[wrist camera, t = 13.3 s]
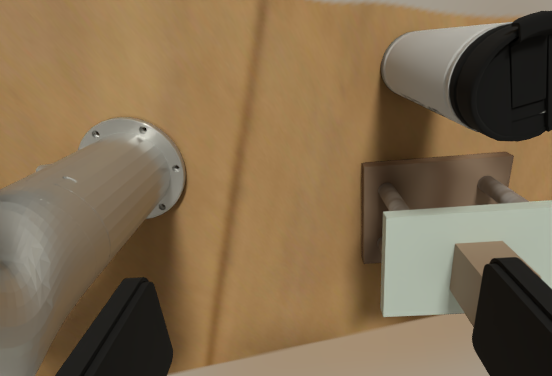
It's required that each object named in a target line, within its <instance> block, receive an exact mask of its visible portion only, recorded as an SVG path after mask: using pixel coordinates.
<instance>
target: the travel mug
mask: <svg viewBox="0 0 552 376" xmlns="http://www.w3.org/2000/svg"><path fill="white" fill-rule="evenodd" d="M381 74H382V78H383V81H384V82H385V84H386V86H387V87H388V88H389V89H390V90H391V91H393V92H394V93H396V94H398V95H400V96H402V97H405V98H407V99H409V100H411V101H413V102H415V103H417V104H419V105H421V106H423V107H425V108H427V109H429V110H432V111H434V112H436V113H438V114H440V115H442V116H444V117H446V118H448V119H450V120H452V121H454V122H457V123H459V124H461V125H463V126H465V127H467V128H469V129H471V130H474V131H476V132H480V133H482V134H484V135H486V136H488V137H490V138H493V139H495V140H497V141H522V140H527V139H531V138H533V137H536V136H539V135H541V134H542V133H543V132H545V131H548V132H549V131H551V130H552V11H540V12H537V13H533V14H529V15H527V16H524V17H521V18H518V19H517V20H515V21H514V22H507V23H496V24H486V25H475V26H465V27H454V28H444V29H434V30H423V31H413V32H409V33H405V34H403V35H401V36H399V37H398V38H396V39H395V40H394V41H393V42H392V43H391V44H390V45H389V47H388V48H387V49H386V51H385V53H384V55H383V59H382V63H381Z"/></svg>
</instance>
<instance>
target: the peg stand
mask: <svg viewBox="0 0 552 376" xmlns="http://www.w3.org/2000/svg"><path fill="white" fill-rule="evenodd" d="M513 157H514V156H513V155H511V154H509V153H507V152H497V153H484V154H471V155H458V156H445V157H432V158H419V159H406V160H393V161H380V162H367V163H362V259H363V262H364V264H369V263H382V228H383V212H385V211H400V210H415V209H429V208H444V207H459V206H474V205H489V204H504V203H519V202H529V201H527V200H526V199H524V198H523V197H521V196H520V195H518V194H517V193H515V192H514V191H512V190H511V189H509V188H508V185H509V180H510V174H511V168H512V163H513Z"/></svg>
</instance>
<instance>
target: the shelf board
mask: <svg viewBox="0 0 552 376" xmlns="http://www.w3.org/2000/svg"><path fill="white" fill-rule="evenodd" d="M505 257H517V258H519V259H521V260H522V261H523V262H524V263H525V264H526V265H527V266H528V267H529V268H530V269H531V270H532V271H533V272H534V273H535V274H537V275H538V276H539V277H540V278H541V279H542V280H543V281H544V282H545V283H546V284H547V285H548V286H549V287H550V288H551V289H552V200H549V201H534V202H519V203H504V204H489V205H474V206H459V207H444V208H429V209H415V210H400V211H385V212H383V228H382V266H381V303H380V309H381V312H382V315H383V317H394V316H417V315H440V314H461V313H465V314H466V316H467V317H468V319H469V321H470V322H471V324H472V325H473V327H474V323H475V317H476V311H477V305H478V299H479V293H480V287H481V281H482V275H483V269H484V266H485V265H486V264H489V263H490V261H491V260H492V259H493V258H505Z"/></svg>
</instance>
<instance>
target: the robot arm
mask: <svg viewBox="0 0 552 376" xmlns="http://www.w3.org/2000/svg"><path fill="white" fill-rule="evenodd" d="M144 127H145V128H146V129H147V130H145V129H144ZM98 132H99V133H98ZM176 165H177V166H179V168H178V167H177V166H176ZM185 181H186V171H185V164H184V161H183V158H182V155H181V153H180V151H179V150H178V148H177V146H176V144H175V143H174V142H173V141H172V140H171V139H170V137H169V136H168V135H167V134H165V133H164V132H163V131H162V130H161V129H159V128H158V127H156V126H154V125H153V124H151V123H149V122H146V121H143V120H141V119H137V118H131V117H117V118H112V119H108V120H106V121H103V122H101V123H99V124H97V125H95V126H94V127H92V128H91V129H90V130H89V131H88V132H87V133H86V134H85V136H84V137H83V139H82V140H81V143H80V145H79V148H78V151H76V152H74V153H72V154H70V155H68V156H66V157H64V158H62V159H60V160H59V161H57V162H55V163H53V164H46V165H40V166H38V167H37V169H36V172H35V173H33V174H31V175H29V176H27V177H25V178H23V179H21V180H19V181H17V182H15V183H13V184H10V185H8V186H6V187H4V188H2V189H0V376H35V375H36V373H37V371H38V369H39V367H40V365H41V363H42V361H43V359H44V357H45V355H46V353H47V351H48V349H49V347H50V345H51V343H52V341H53V340H54V338H55V336H56V334H57V332H58V331H59V329H60V327H61V325H62V324H63V322H64V321H65V319H66V318H67V316H68V315H69V313H70V312H71V310H72V309H73V308H74V306H75V305H76V303H77V302H78V301H79V299H80V298H81V297H82V295H83V294H84V293H85V292H86V290H87V289H88V288H89V287H90V285H91V284H92V283H93V282H94V280H95V279H96V278H97V277H98V276H99V274H100V273H101V272H102V271H103V270H104V268H105V267H106V266H107V265H108V264H109V262H110V261H111V260H112V259H113V258H114V256H115V255H116V254H117V253H118V251H119V250H120V249H121V248H122V247H123V245H124V244H125V243H126V242H127V241H128V239H129V238H130V237H131V236H132V235H133V233H134V232H135V231H136V230H137V229H138V227H139V226H140V225H141V224H142V223H143V221H144V220H145V219H148V218H154V217H156V216H159V215H162V214H163V213H165V212H167V211H168V210H169V209H170V208H171V207H172V206H174V205H175V203H176V202H177V201H178V199H179V198H180V196H181V194H182V192H183V189H184V186H185ZM163 204H164V205H163ZM472 342H473V346H474V349H475V351H476V353H477V355H478V357H479V358H480V360H481V362H482V363H483V365H484V367H485V368H486V370H487V372H488V373H489V375H490V376H552V289H551V288H550V287H549V286H548V285H547V284H546V283H545V282H544V281H543V280H542V279H541V278H540V277H539V276H538V275H537V274H535V273H534V272H533V271H532V270H531V269H530V268H529V267H528V266H527V265H526V264H525V263H524V262H523V261H522V260H521V259H519V258H517V257H505V258H493V259H492V260H491V261H490V263H489V264H486V265H485V266H484V269H483V275H482V281H481V287H480V293H479V299H478V305H477V311H476V317H475V323H474V329H473V336H472ZM172 358H173V349H172V345H171V342H170V338H169V335H168V331H167V328H166V324H165V321H164V317H163V314H162V310H161V307H160V304H159V300H158V297H157V293H156V290H155V286H154V284H153V283H152V282H148V280H147V278H144V277H141V278H126V279H124V280H123V281H122V282H121V284H120V285H119V286H118V288H117V289H116V291H115V292H114V294H113V295H112V296H111V298H110V299H109V301H108V302H107V303H106V305H105V306H104V308H103V309H102V310H101V312H100V313H99V315H98V316H97V317H96V319H95V320H94V322H93V323H92V325H91V326H90V327H89V329H88V330H87V332H86V333H85V334H84V336H83V337H82V339H81V340H80V341H79V343H78V344H77V346H76V347H75V348H74V350H73V351H72V353H71V354H70V356H69V357H68V358H67V360H66V361H65V363H64V364H63V365H62V367H61V368H60V370H59V371H58V372H57V374H56V375H55V376H167V373H168V371H169V368H170V365H171V362H172Z"/></svg>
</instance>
